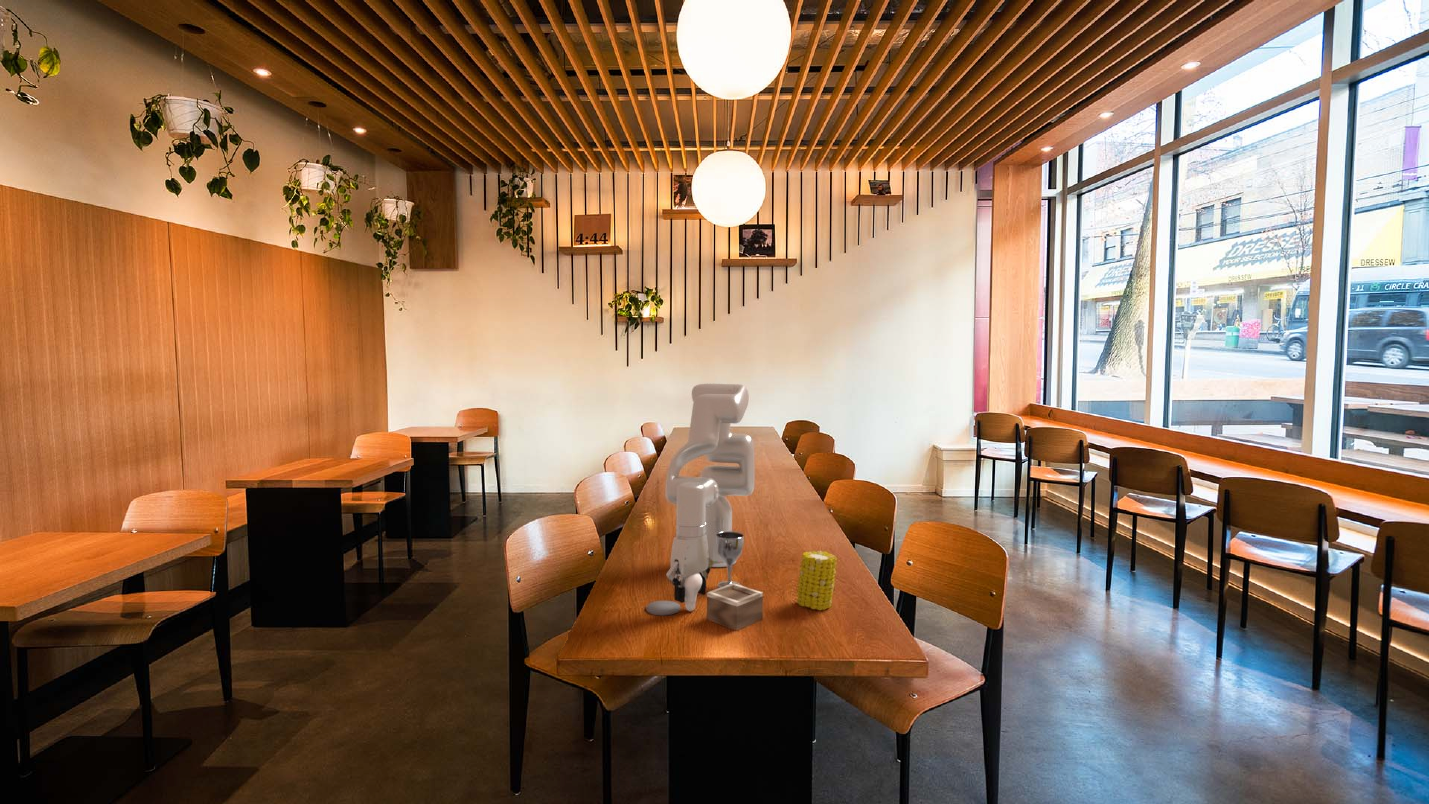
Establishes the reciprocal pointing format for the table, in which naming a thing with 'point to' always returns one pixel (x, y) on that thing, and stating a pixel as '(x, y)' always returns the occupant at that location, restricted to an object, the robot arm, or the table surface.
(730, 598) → the square holder
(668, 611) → the grey flat disc
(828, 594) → the food
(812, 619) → the table surface
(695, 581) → the lightbulb
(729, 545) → the wine glass
